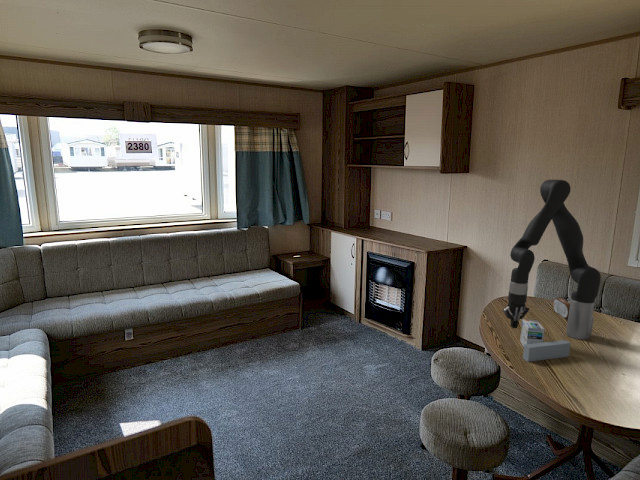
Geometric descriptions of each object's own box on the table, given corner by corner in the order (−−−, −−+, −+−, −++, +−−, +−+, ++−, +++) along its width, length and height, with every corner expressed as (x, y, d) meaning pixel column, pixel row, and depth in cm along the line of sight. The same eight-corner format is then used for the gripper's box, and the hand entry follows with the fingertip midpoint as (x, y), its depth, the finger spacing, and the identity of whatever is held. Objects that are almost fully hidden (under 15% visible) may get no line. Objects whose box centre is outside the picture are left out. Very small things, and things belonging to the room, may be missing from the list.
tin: (572, 321, 217) (574, 305, 215) (566, 321, 217) (568, 305, 215) (556, 310, 231) (558, 295, 230) (551, 310, 231) (553, 295, 230)
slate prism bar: (563, 353, 181) (564, 339, 180) (568, 356, 178) (570, 342, 177) (522, 358, 176) (524, 344, 175) (527, 361, 173) (529, 347, 172)
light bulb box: (542, 353, 181) (545, 329, 179) (525, 351, 182) (528, 327, 180) (535, 342, 191) (538, 319, 189) (519, 340, 192) (521, 318, 190)
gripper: (524, 288, 198) (520, 323, 201) (499, 289, 195) (496, 325, 198) (536, 293, 191) (532, 329, 194) (511, 295, 188) (506, 332, 191)
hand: (513, 327), depth 196 cm, fingers closed
